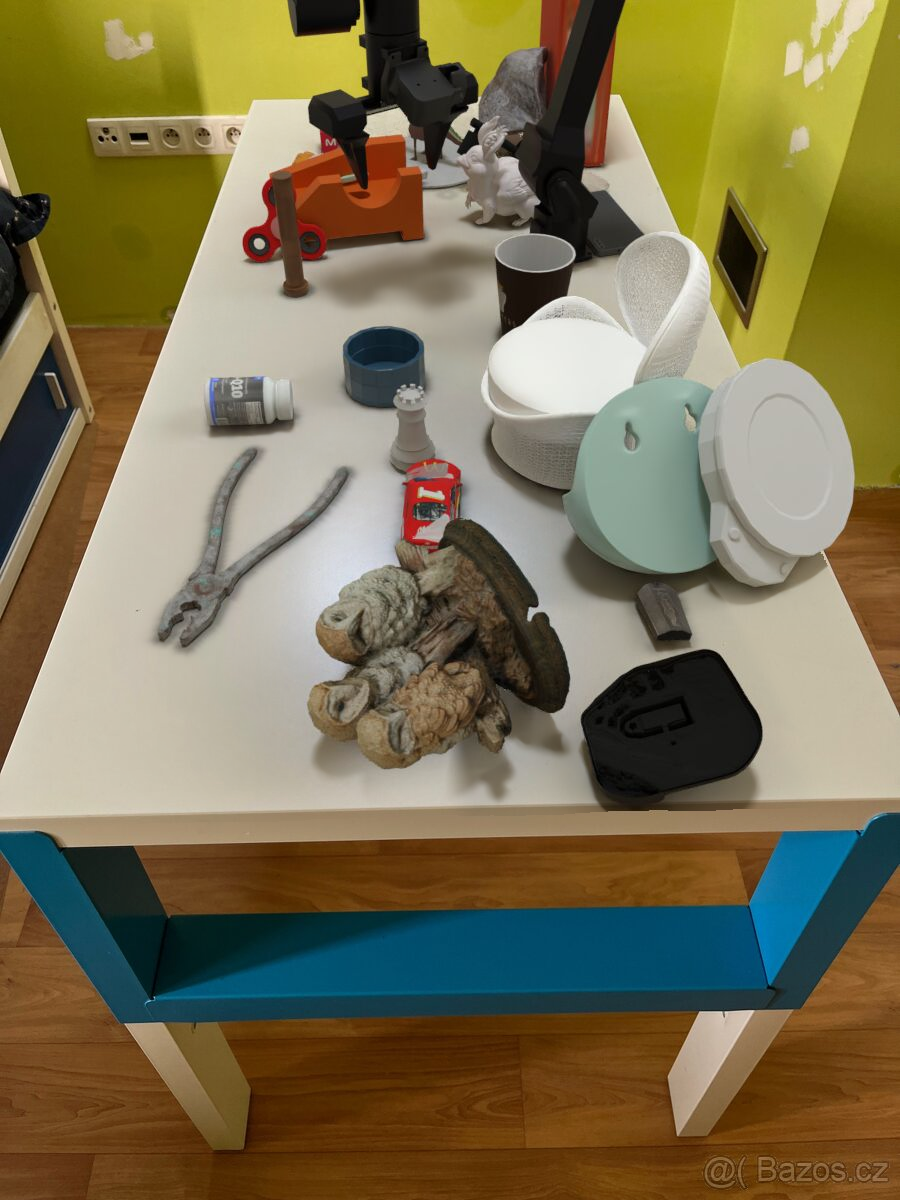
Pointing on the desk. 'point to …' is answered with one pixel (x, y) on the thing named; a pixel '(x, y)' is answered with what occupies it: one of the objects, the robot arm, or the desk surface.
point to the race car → (430, 502)
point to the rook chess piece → (411, 429)
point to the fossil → (516, 91)
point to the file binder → (554, 35)
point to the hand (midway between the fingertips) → (398, 178)
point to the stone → (594, 182)
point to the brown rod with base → (289, 234)
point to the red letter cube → (327, 142)
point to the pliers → (213, 588)
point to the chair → (593, 356)
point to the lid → (773, 470)
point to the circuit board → (511, 138)
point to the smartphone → (610, 227)
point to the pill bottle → (247, 400)
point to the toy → (272, 235)
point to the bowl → (382, 364)
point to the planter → (644, 481)
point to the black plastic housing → (670, 728)
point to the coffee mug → (531, 275)
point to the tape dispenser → (360, 192)
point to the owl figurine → (436, 651)
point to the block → (663, 612)
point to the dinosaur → (445, 162)
